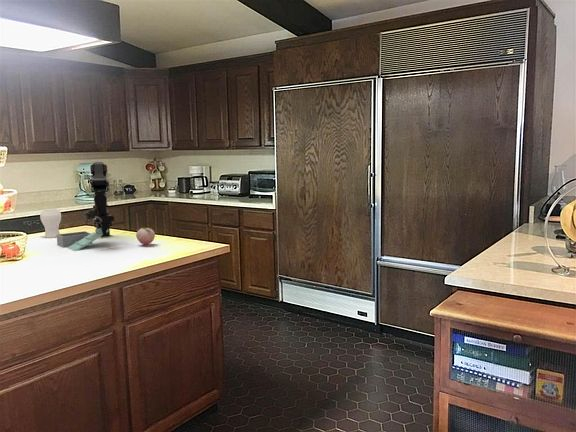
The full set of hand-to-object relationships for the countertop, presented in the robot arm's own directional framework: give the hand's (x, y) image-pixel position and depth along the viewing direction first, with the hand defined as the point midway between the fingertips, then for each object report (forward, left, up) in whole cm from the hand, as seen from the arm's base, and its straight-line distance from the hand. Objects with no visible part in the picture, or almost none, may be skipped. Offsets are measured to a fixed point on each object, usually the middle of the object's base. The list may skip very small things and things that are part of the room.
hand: (102, 234), depth 240 cm
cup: (+11, -49, -6) cm, 51 cm away
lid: (+6, 0, -3) cm, 7 cm away
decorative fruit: (-17, +13, -6) cm, 22 cm away
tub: (+10, -12, -6) cm, 17 cm away
